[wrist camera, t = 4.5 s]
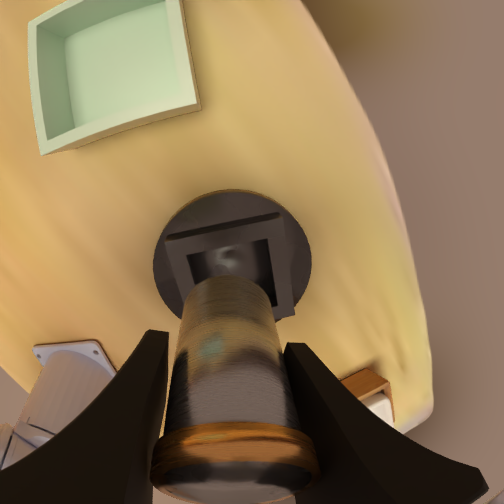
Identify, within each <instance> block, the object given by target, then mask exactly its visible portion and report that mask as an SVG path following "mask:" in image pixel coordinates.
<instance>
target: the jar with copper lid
mask: <svg viewBox="0 0 504 504" xmlns="http://www.w3.org/2000/svg"><path fill="white" fill-rule="evenodd" d="M320 477H321V471H320V467H319V464H318V460H317V456H316V452H315V448H314V444H313V441H312V440H311V439H310V437H308V436H307V435H306V434H304V433H302V431H301V427H300V423H299V419H298V415H297V411H296V406H295V402H294V398H293V394H292V390H291V386H290V382H289V378H288V373H287V369H286V365H285V361H284V357H283V353H282V349H281V345H280V341H279V337H278V333H277V329H276V324H275V320H274V316H273V312H272V308H271V304H270V301H269V298H268V296H267V294H266V293H265V292H264V290H263V289H262V288H261V287H260V286H259V285H257V284H256V283H254V282H253V281H251V280H249V279H246V278H243V277H240V276H235V275H220V276H215V277H211V278H208V279H206V280H204V281H202V282H200V283H199V284H198V285H196V286H195V287H194V288H193V289H192V290H191V291H190V293H189V294H188V296H187V298H186V301H185V304H184V309H183V314H182V320H181V325H180V330H179V336H178V341H177V347H176V353H175V359H174V365H173V371H172V377H171V384H170V390H169V397H168V404H167V411H166V418H165V426H164V434H163V436H162V437H161V438H159V439H158V440H157V441H156V443H155V444H154V447H153V452H152V460H151V468H150V476H149V478H150V482H151V484H152V485H153V486H154V487H155V488H156V489H158V490H159V491H161V492H162V493H164V494H166V495H168V496H171V497H173V498H176V499H179V500H183V501H186V502H190V503H196V504H266V503H271V502H276V501H280V500H283V499H287V498H289V497H292V496H295V495H297V494H300V493H302V492H304V491H306V490H307V489H309V488H310V487H312V486H313V485H314V484H316V483H317V481H318V480H319V479H320Z"/></svg>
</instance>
